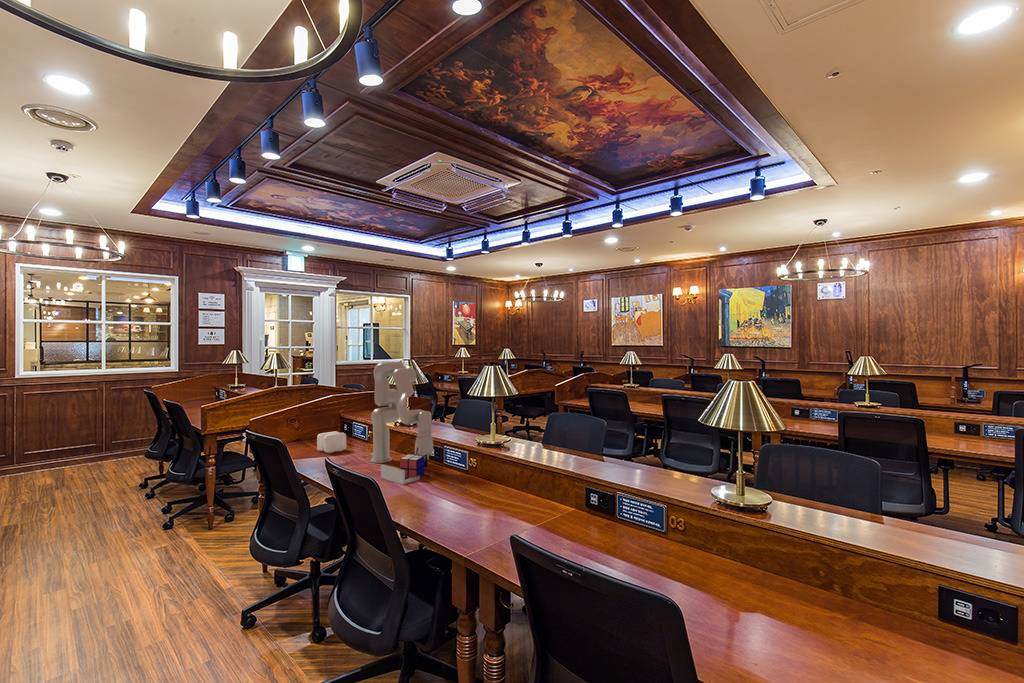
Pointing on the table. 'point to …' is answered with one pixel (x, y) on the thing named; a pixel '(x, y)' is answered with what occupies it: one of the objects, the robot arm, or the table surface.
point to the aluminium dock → (396, 475)
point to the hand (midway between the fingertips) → (424, 467)
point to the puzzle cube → (413, 465)
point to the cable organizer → (331, 441)
